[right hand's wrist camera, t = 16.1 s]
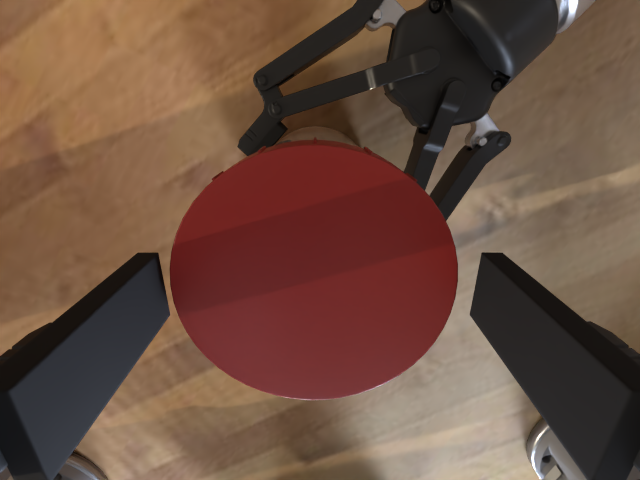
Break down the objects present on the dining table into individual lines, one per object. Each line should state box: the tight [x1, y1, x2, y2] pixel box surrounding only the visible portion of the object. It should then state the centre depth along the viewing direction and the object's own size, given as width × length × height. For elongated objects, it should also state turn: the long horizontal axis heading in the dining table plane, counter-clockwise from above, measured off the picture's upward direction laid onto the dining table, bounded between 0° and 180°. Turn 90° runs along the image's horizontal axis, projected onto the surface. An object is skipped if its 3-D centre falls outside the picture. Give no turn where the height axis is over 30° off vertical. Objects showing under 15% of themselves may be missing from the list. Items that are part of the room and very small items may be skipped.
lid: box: [170, 137, 458, 400], centre depth 14 cm, size 11×11×2 cm
